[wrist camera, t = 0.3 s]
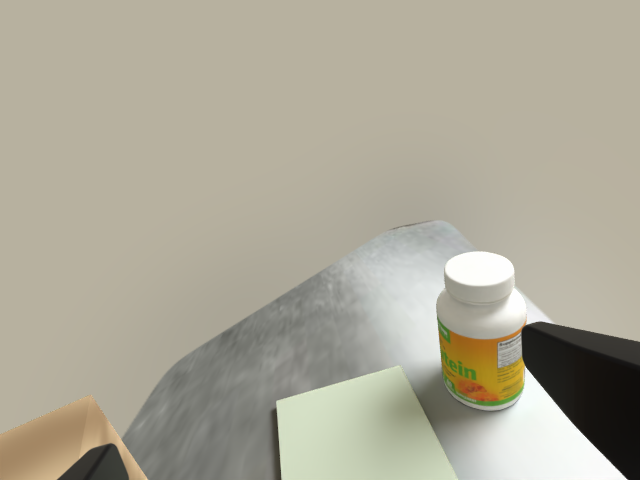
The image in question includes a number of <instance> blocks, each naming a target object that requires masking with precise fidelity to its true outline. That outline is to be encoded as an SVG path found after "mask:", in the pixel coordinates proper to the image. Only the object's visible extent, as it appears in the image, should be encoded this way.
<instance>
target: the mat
mask: <svg viewBox="0 0 640 480" xmlns="http://www.w3.org/2000/svg"><path fill="white" fill-rule="evenodd" d="M276 402H277V417H278V432H279V447H280V462H281V478H282V480H458V478H457V476H456V474H455V472H454V470H453V468H452V466H451V464H450V462H449V460H448V458H447V456H446V454H445V452H444V450H443V448H442V446H441V444H440V442H439V440H438V438H437V436H436V434H435V432H434V430H433V428H432V426H431V424H430V422H429V421H428V419H427V417H426V415H425V413H424V411H423V409H422V407H421V405H420V403H419V401H418V399H417V397H416V395H415V393H414V391H413V389H412V387H411V385H410V383H409V381H408V379H407V377H406V375H405V373H404V371H403V369H402V367H401V365H399V366H395V367H392V368H388V369H385V370H382V371H378V372H375V373H371V374H368V375H364V376H361V377H357V378H354V379H351V380H347V381H344V382H340V383H337V384H333V385H330V386H326V387H323V388H320V389H316V390H313V391H309V392H306V393H302V394H299V395H295V396H292V397H288V398H285V399H282V400H278V401H276Z"/></svg>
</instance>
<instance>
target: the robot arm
mask: <svg viewBox="0 0 640 480" xmlns="http://www.w3.org/2000/svg"><path fill="white" fill-rule="evenodd" d="M521 346H522V359H523V362H524V364H525V366H526V368H527V369H528V370H529V372H530V373H531V374H532V375H533V376H534V378H535V379H536V380H537V381H538V382H539V384H540V385H541V386H542V387H543V388H544V390H545V391H546V392H547V393H548V394H549V396H550V397H551V398H552V399H553V401H554V402H555V403H556V404H557V405H558V407H559V408H560V409H561V410H562V411H563V413H564V414H565V415H566V416H567V417H568V418H569V420H570V421H571V422H572V423H573V424H574V425H575V426H576V427H577V429H578V430H579V431H580V432H581V433H582V434H583V435H584V436H585V437H586V438H587V439H588V440H589V441H590V442H591V443H592V444H593V445H594V446H595V447H596V448H597V449H598V450H599V451H600V452H601V453H602V454H603V455H604V456H605V457H606V458H607V459H608V460H609V461H610V462H611V463H612V464H613V465H614V466H615V467H616V468H617V469H618V470H619V471H620V472H621V473H622V474H623V475H624V476H625V478H626V479H627V480H640V342H638V341H633V340H628V339H623V338H618V337H614V336H609V335H604V334H599V333H594V332H589V331H585V330H579V329H574V328H570V327H565V326H560V325H555V324H551V323H546V322H535V323H531V324H528V325H525V326H524V327H522V330H521ZM57 480H129V475H128V472H127V469H126V467H125V465H124V462H123V460H122V457H121V455H120V453H119V450H118V448H117V446H116V445H115V444H113V443H108V444H105V445H101V446H98V447H94V448H92V449H90V450H89V451H87V452H86V453H85V454H84V455H83V456H82V457H81V458H80V459H79V460H78V461H76V462H75V463H74V464H73V465H72V466H71V467H70V468H69V469H68V470H67V471H66V472H65V473H63V474H62V475H61V476H60V477H59V478H58V479H57Z"/></svg>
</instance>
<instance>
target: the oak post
mask: <svg viewBox="0 0 640 480" xmlns="http://www.w3.org/2000/svg"><path fill="white" fill-rule="evenodd" d="M108 443H113V444H115V445H116V446H117V448H118V450H119V453H120V455H121V457H122V460H123V462H124V465H125V467H126V469H127V472H128V475H129V480H148V479H147V478H146V476H145V475H144V473H143V472H142V470H141V469H140V467H139V466H138V464H137V463H136V461H135V460H134V458H133V457H132V455H131V454H130V452H129V451H128V449H127V448H126V446H125V445H124V443H123V442H122V440H121V439H120V437H119V436H118V435H117V433H116V431H115V430H114V428H113V427H112V426H111V424H110V423H109V421H108V420H107V418H106V417H105V415H104V413H103V412H102V410H101V409H100V408H99V406H98V405H97V403H96V401H95V400H94V399H93V397H92V396H91V395H89V396H86V397H84V398H82V399H80V400H77V401H75V402H73V403H71V404H68V405H66V406H64V407H61V408H59V409H57V410H55V411H52V412H50V413H48V414H46V415H43V416H41V417H39V418H36V419H34V420H32V421H30V422H27V423H26V424H23V425H20V426H18V427H16V428H14V429H11V430H9V431H7V432H5V433H3V434H0V480H57V479H58V478H59V477H60V476H61V475H62V474H63V473H65V472H66V471H67V470H68V469H69V468H70V467H71V466H72V465H73V464H74V463H75V462H76V461H78V460H79V459H80V458H81V457H82V456H83V455H84V454H85V453H86V452H87V451H89V450H90V449H92V448H94V447H98V446H101V445H105V444H108Z"/></svg>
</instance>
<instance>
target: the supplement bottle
mask: <svg viewBox="0 0 640 480" xmlns="http://www.w3.org/2000/svg"><path fill="white" fill-rule="evenodd" d="M444 279H445V287H446V288H445V289H444V290H443V291H442V292H441V293H440V295H439V297H438V299H437V304H436V309H437V320H438V330H439V341H440V351H441V362H442V373H443V380H444V383H445V386H446V388H447V389H448V391H449V392H450V393H451V395H452V396H453V397H455V398H456V399H457V400H458V401H460V402H461V403H463V404H465V405H467V406H470V407H472V408H476V409H480V410H500V409H504V408H506V407H509V406H511V405H512V404H514V403H515V402H516V401H517V400H518V399H519V398H520V396H521V395H522V392H523V389H524V381H525V364H524V362H523V359H522V346H521V330H522V327H524V326H525V325H526V318H527V314H526V305H525V302H524V300H523V298H522V296H521V295H520V294H519V293H518V292H517V291H516V290H515V289H514V286H515V281H514V267H513V265H512V264H511V262H510V261H509V260H508V259H506V258H504V257H502V256H500V255H497V254H493V253H487V252H469V253H464V254H460V255H458V256H455V257H453V258H452V259H450V260H449V261H448V262H447V263H446V265H445V268H444Z"/></svg>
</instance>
